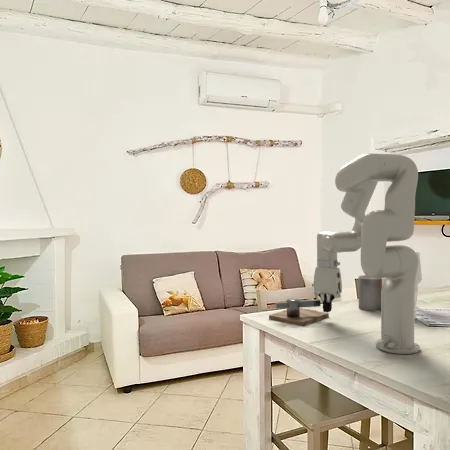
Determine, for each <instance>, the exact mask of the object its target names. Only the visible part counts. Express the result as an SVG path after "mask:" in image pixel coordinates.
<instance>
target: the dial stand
mask: <svg viewBox="0 0 450 450" xmlns="http://www.w3.org/2000/svg"><path fill="white" fill-rule="evenodd" d="M329 317H330V312H323V311H318V310H315V309H314V310H313V309H309V308H303V307H302V308H300V316H298V317H290V316H287V309H285V310H281V311H278V312H275V313H272V314H269V315H268V319H269V320H273V321H277V322H283V323H288V324H292V325H297V326H301V327H305V326H308V325H310V324H313V323H315V322H319V321H321V320H324V319H326V318H329Z"/></svg>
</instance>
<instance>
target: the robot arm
mask: <svg viewBox="0 0 450 450" xmlns="http://www.w3.org/2000/svg"><path fill="white" fill-rule="evenodd" d="M335 175H336V176H335V179H334V184H335V187H336V189H337V190H338V191H340V192H342V193H345V194H344V196H343V198H342V201H341V203H340V207H341V210H342V211H343V213H345V214H346V215H348V216H350V217H352V218H354V223H353V227H352V229H351V230H350V231H349V230H348V231H325V230H324V231H319V232H317V234H316V266H315V268H314V269H315V270H314V273H313V274H314V275H313V293H314V295H315V296H318V297H319V298H320V302H322V312H325V313H331V311H332V309H333V308H332V305H333V304H332V303H333V301H334V300H335V299H339V298H341V293H342V292H343V291H342V290H343V284H342V281H343V280H342V274H341V269H340V267H338V266H340V265H341V261H338V253H353V252H357V251H358V250H360V267H361V270H362V272H363V273H364V275H366V276H368V277H370V278H374V279H378V278H382V279H384V281H383V282H382V290H381V310H380V311H381V314H380V316H381V317H380V318H381V319H380V326H381V327H380V339H378V340H376V341H375V347H376V348H377V349H379V350H381V351H383V352H387V353H390V354H395V355H396V354H397V355H410V354H411V355H412V354H416V353H418V352H419V351H420V350H421V346H420V345H419V344H418V343H417V342H415V319H414V299H415V279H416V274H417V269H418V257H417V254H416V252H417V251H415V250H414V249H413V248H412V247H409V246H408V245H402V244H399V245H398V244H395V245H387V243H390V242H403V241H407V240H409V239H410V238H412V237H413V234H414V231H415V213H416V212H415V211H416V193H417V187H418V180H419V169H418V166H417V164H416V163H415V161H413V160H412V158H410V157H408V156H406V155H402V154H397V153H396V154H395V153H372V152H371V153H363V154H361V155H358V156H357V157H356V158H354V159H353V160H350V161H349V162H347V163H346V164H345V165H343V166H342V167H341V168H340V169H339V170H338V172H337V173H336V174H335ZM379 182H390V183H391V184H390V185H389V187H388V188H387V190H386V193H385V197H384V209H378V210H372V211H370V212H368V213H367V214H366V211H367V209H368V206H369V204H370V201H371V200H372V197H373V194H374V192H375V190H376V187H377V185H378V183H379Z"/></svg>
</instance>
